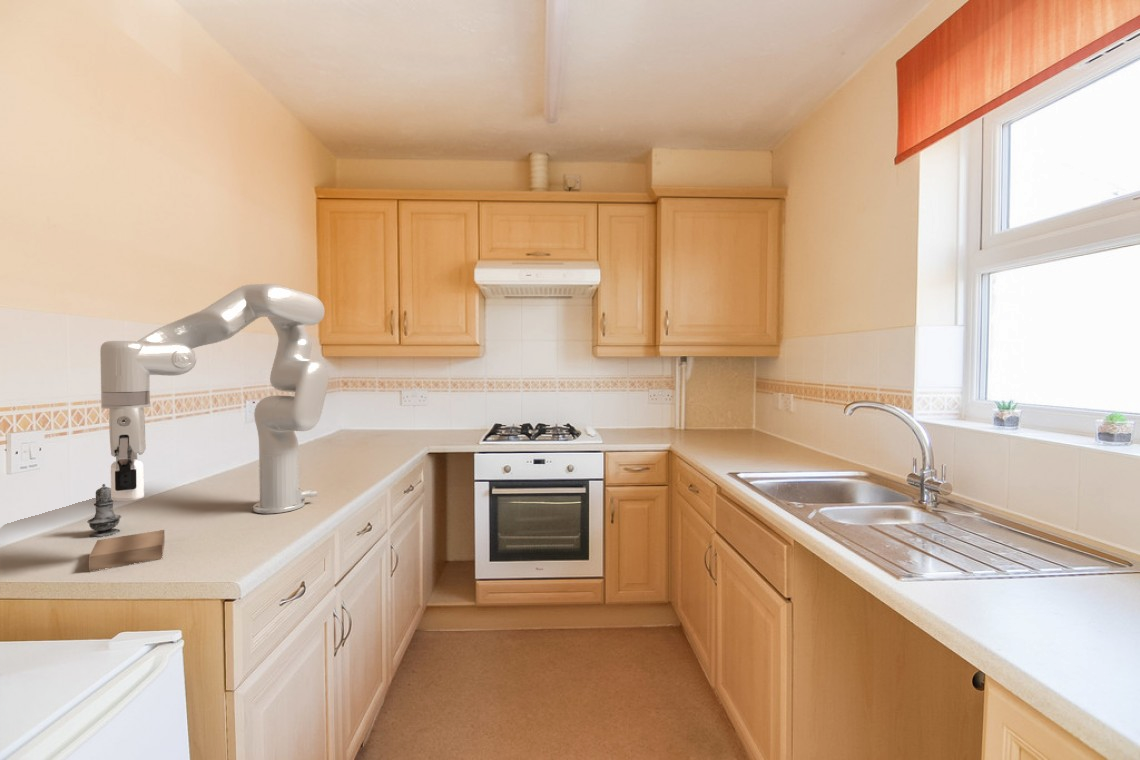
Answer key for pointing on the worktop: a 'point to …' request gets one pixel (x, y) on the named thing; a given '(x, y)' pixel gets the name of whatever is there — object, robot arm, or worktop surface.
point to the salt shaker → (104, 514)
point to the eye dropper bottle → (133, 493)
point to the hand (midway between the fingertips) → (127, 485)
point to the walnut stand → (127, 550)
